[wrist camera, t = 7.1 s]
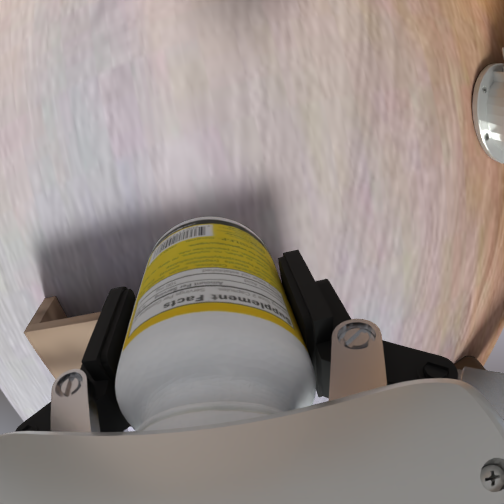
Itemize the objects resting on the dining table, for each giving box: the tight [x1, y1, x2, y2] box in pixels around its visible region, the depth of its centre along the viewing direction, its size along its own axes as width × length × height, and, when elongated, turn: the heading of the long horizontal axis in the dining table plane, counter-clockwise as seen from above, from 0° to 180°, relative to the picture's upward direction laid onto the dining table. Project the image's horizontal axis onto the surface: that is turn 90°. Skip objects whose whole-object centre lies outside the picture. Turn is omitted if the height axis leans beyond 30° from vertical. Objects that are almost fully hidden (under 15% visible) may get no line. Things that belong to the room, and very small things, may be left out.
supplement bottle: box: [115, 217, 316, 431], centre depth 10 cm, size 5×5×10 cm
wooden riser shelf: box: [24, 296, 101, 379], centre depth 29 cm, size 10×24×6 cm, turn 100°
